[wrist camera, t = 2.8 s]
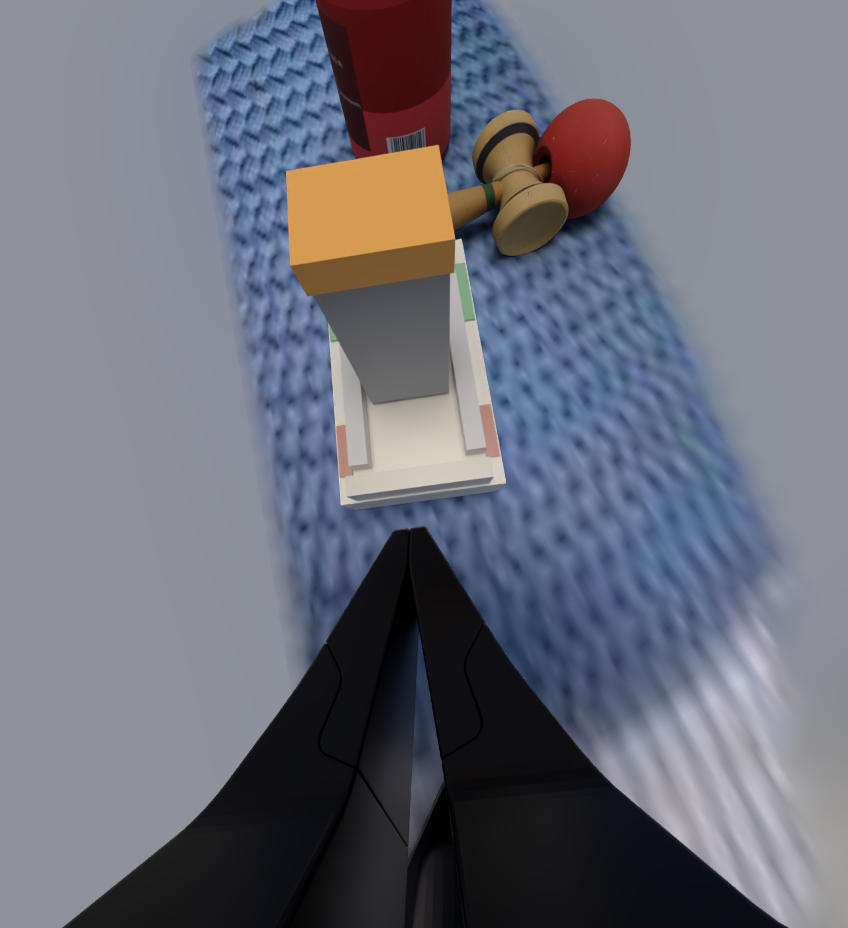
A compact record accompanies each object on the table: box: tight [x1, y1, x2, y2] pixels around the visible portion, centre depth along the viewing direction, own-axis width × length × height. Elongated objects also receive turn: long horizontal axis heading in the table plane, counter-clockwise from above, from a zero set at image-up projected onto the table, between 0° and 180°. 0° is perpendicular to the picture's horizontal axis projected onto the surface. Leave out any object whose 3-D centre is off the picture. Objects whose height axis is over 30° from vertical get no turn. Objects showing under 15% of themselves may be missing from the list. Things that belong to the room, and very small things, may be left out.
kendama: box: [447, 99, 631, 256], centre depth 23 cm, size 8×6×18 cm
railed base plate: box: [328, 239, 506, 510], centre depth 21 cm, size 16×9×5 cm, turn 8°
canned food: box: [316, 0, 452, 161], centre depth 22 cm, size 8×8×11 cm
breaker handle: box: [286, 145, 455, 403], centre depth 15 cm, size 3×5×10 cm
